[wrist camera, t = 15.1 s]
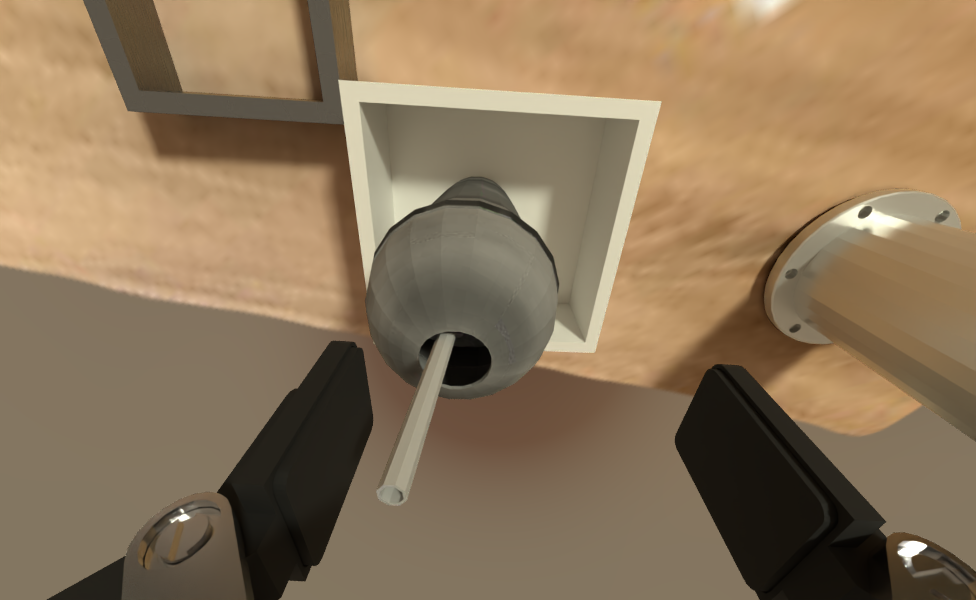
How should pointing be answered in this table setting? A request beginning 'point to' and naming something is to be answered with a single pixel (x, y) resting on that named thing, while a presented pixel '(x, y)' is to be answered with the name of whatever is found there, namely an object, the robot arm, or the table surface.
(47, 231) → the table surface
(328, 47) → the holder
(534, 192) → the bin
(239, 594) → the robot arm
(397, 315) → the beverage cup
